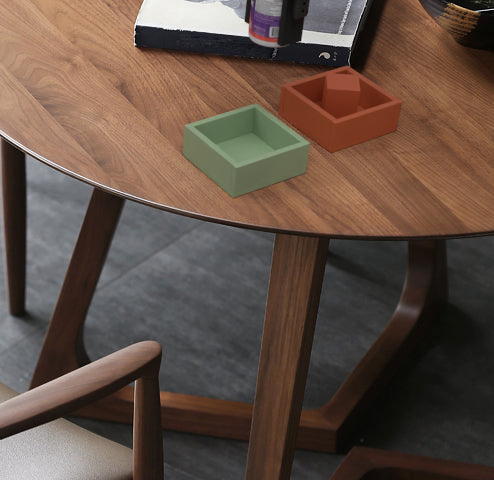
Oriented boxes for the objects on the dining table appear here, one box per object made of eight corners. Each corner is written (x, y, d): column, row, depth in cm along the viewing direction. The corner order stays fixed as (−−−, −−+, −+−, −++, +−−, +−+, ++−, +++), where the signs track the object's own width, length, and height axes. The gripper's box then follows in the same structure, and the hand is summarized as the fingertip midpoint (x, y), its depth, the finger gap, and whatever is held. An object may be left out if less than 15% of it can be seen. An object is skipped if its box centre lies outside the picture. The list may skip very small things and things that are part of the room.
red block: (351, 110, 137) (358, 74, 134) (353, 126, 135) (360, 90, 131) (320, 108, 138) (326, 72, 134) (321, 124, 135) (327, 88, 131)
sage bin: (305, 173, 128) (310, 143, 125) (233, 198, 124) (236, 167, 121) (253, 132, 134) (256, 102, 131) (182, 154, 130) (184, 124, 127)
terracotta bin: (396, 130, 135) (402, 101, 132) (330, 153, 131) (335, 123, 128) (342, 93, 142) (347, 65, 139) (278, 114, 138) (281, 85, 135)
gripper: (393, -175, 99) (352, 58, 115) (273, -226, 111) (251, -8, 126) (329, -163, 96) (296, 74, 112) (213, -217, 108) (198, 5, 124)
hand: (272, 30), depth 119 cm, fingers closed on pill bottle, 5 cm apart
